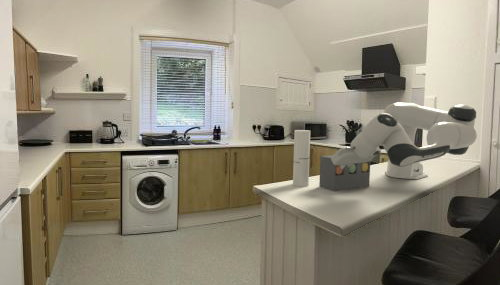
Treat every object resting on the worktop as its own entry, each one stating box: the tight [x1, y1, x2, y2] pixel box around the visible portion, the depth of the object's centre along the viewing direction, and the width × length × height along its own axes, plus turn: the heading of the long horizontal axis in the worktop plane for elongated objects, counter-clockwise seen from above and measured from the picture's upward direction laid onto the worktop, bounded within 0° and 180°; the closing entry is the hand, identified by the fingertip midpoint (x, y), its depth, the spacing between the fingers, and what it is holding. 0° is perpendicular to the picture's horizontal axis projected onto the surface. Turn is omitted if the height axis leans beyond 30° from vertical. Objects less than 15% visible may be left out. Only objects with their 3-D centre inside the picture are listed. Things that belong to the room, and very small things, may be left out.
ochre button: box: [362, 163, 368, 172], centre depth 154 cm, size 4×3×4 cm
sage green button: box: [349, 164, 356, 173], centre depth 150 cm, size 4×3×4 cm
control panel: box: [318, 154, 371, 192], centre depth 153 cm, size 22×9×14 cm, turn 120°
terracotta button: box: [336, 165, 343, 174], centre depth 146 cm, size 4×3×4 cm
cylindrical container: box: [292, 129, 311, 188], centre depth 154 cm, size 7×7×25 cm
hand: (343, 167), depth 143 cm, fingers closed
